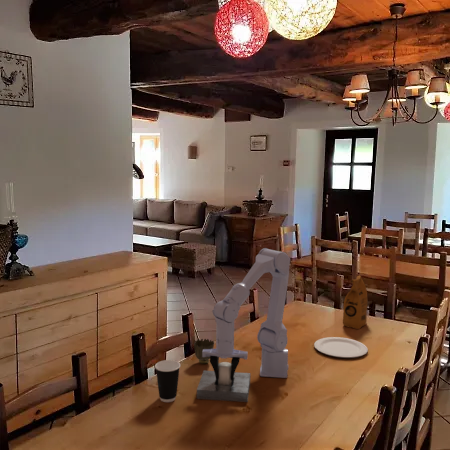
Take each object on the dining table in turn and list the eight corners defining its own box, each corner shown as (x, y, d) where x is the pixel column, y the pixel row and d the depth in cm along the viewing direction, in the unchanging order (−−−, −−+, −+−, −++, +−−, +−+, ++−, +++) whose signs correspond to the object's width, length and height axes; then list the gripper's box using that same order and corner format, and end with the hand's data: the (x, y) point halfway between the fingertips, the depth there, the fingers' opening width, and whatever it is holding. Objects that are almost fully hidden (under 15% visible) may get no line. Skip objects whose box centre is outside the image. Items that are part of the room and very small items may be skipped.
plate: (309, 355, 186) (309, 351, 186) (319, 337, 205) (319, 333, 205) (364, 364, 178) (364, 360, 178) (370, 345, 197) (370, 341, 197)
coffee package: (338, 325, 219) (340, 278, 216) (349, 318, 229) (351, 273, 226) (360, 330, 213) (362, 282, 210) (369, 323, 223) (372, 276, 220)
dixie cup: (185, 397, 152) (185, 364, 150) (168, 407, 145) (168, 372, 144) (167, 390, 156) (166, 357, 155) (149, 399, 150) (149, 366, 148)
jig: (250, 381, 163) (250, 373, 162) (247, 402, 149) (247, 392, 149) (203, 378, 165) (203, 370, 164) (196, 398, 151) (196, 389, 150)
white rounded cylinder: (232, 382, 159) (232, 362, 158) (230, 388, 154) (231, 367, 154) (219, 382, 159) (219, 361, 159) (217, 387, 155) (217, 367, 154)
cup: (211, 367, 173) (211, 346, 172) (191, 365, 175) (191, 344, 174) (215, 359, 180) (215, 339, 179) (196, 357, 182) (196, 337, 181)
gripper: (200, 341, 151) (200, 382, 153) (246, 344, 150) (246, 385, 152) (204, 333, 158) (204, 373, 160) (248, 336, 157) (247, 375, 158)
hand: (224, 378), depth 156 cm, fingers closed on white rounded cylinder, 4 cm apart
